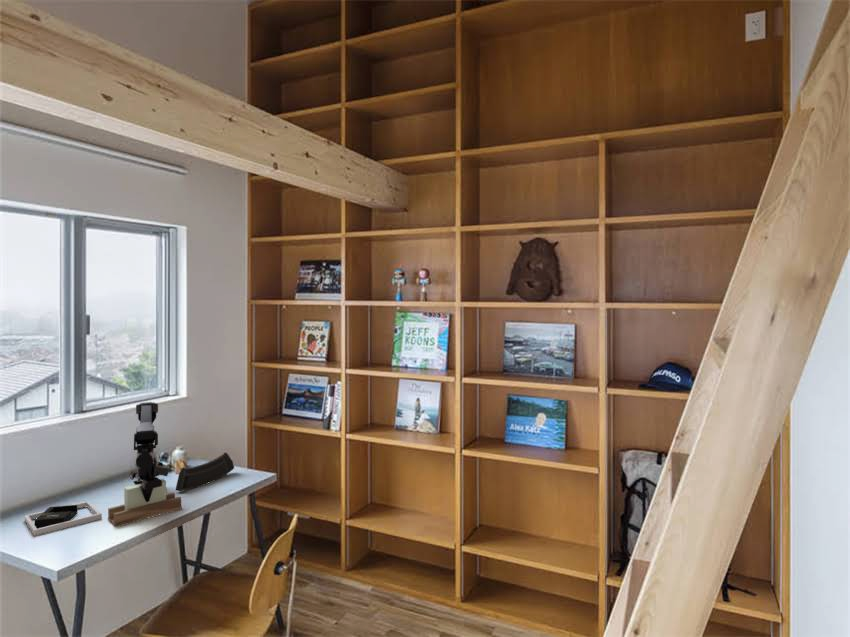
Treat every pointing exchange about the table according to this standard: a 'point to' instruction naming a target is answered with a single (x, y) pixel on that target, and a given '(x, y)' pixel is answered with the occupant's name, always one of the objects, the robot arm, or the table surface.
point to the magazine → (204, 473)
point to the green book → (136, 497)
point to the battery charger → (56, 515)
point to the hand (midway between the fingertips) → (145, 500)
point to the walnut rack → (143, 510)
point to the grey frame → (62, 525)
